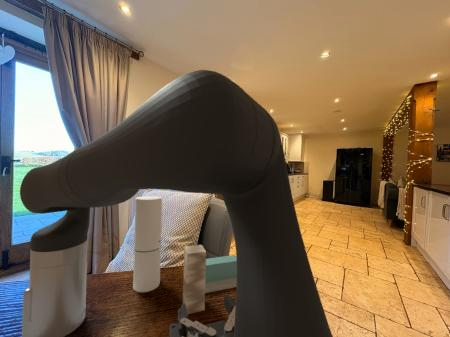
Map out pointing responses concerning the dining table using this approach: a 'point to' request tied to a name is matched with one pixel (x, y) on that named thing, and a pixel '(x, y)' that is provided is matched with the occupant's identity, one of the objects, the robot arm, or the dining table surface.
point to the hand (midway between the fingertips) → (205, 304)
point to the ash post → (194, 278)
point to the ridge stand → (220, 273)
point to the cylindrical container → (147, 243)
